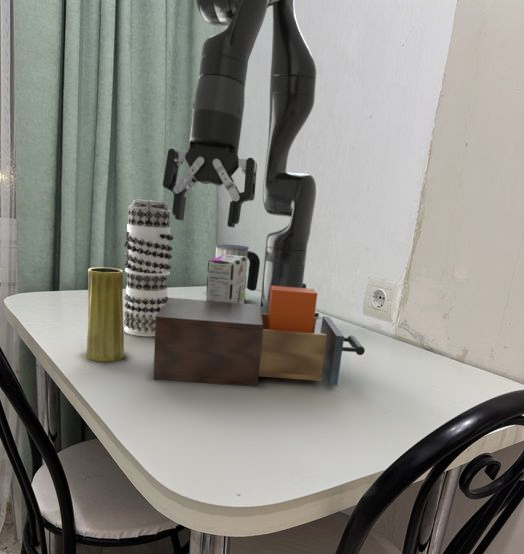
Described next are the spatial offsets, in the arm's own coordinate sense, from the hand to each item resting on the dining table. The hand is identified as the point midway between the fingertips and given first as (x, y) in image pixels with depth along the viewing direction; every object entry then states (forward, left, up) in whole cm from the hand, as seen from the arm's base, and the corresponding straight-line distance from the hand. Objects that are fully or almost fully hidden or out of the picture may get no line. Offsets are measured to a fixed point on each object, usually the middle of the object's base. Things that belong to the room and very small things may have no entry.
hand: (204, 223), depth 80 cm
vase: (+14, -6, -23) cm, 27 cm away
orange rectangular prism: (-11, +11, -21) cm, 26 cm away
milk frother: (-31, -49, -23) cm, 62 cm away
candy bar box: (-9, -8, -23) cm, 26 cm away
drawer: (-13, +12, -22) cm, 28 cm away
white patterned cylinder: (+2, -20, -23) cm, 30 cm away
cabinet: (0, +4, -23) cm, 23 cm away
